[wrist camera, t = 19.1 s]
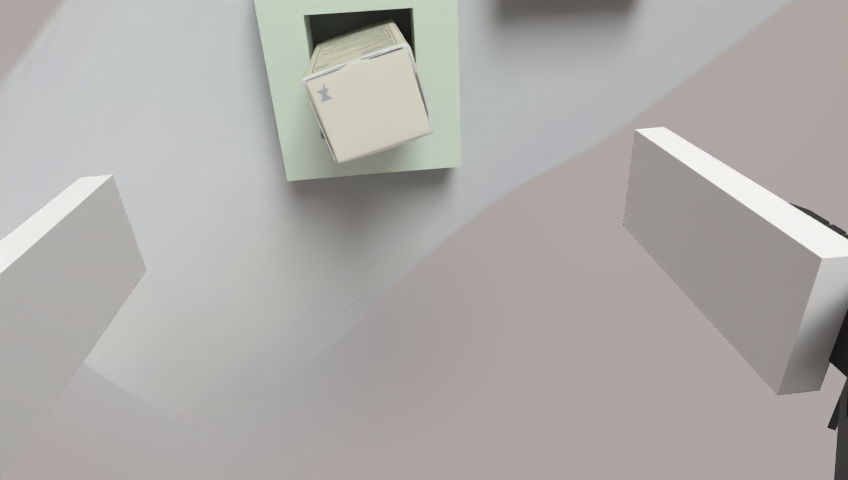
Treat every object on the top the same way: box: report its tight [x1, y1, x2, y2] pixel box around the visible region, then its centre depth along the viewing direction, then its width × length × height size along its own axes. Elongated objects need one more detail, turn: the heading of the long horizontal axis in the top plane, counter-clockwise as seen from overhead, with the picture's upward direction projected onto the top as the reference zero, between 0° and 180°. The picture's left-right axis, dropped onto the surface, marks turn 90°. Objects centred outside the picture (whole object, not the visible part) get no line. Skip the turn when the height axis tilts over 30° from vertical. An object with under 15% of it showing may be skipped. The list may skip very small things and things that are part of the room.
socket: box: [254, 0, 461, 181], centre depth 33 cm, size 11×12×3 cm
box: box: [302, 19, 433, 164], centre depth 29 cm, size 5×4×11 cm
